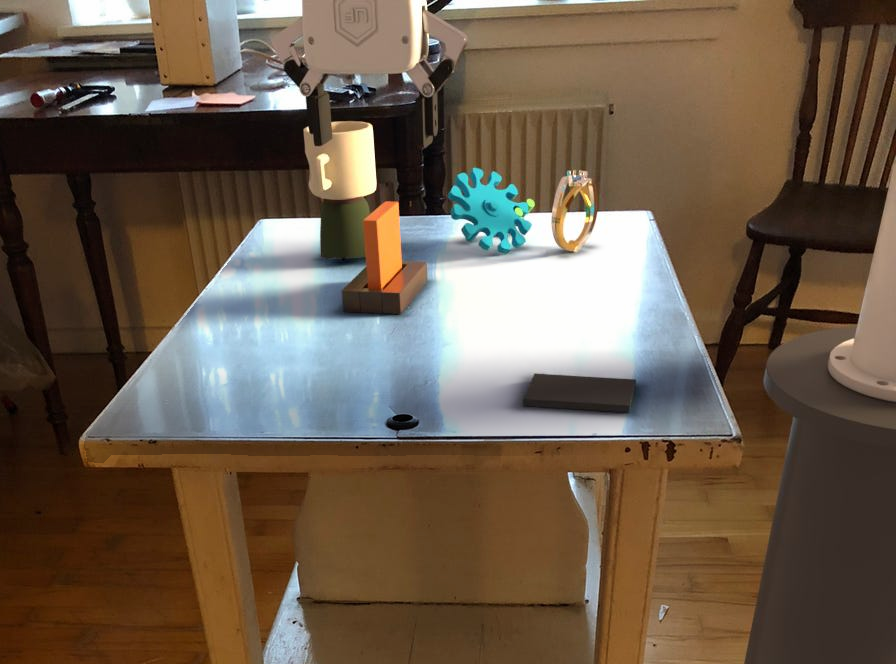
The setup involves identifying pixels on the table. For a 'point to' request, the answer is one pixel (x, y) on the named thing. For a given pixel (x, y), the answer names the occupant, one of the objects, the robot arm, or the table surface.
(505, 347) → the table surface
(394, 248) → the orange rectangular board
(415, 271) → the frame
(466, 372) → the table surface
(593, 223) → the ring
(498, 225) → the gear
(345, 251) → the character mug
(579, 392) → the mat
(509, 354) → the table surface
